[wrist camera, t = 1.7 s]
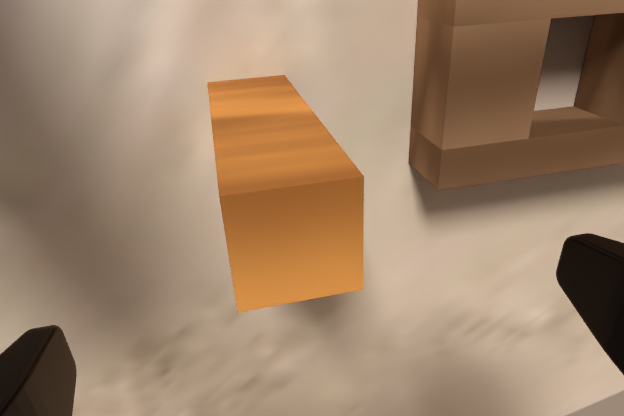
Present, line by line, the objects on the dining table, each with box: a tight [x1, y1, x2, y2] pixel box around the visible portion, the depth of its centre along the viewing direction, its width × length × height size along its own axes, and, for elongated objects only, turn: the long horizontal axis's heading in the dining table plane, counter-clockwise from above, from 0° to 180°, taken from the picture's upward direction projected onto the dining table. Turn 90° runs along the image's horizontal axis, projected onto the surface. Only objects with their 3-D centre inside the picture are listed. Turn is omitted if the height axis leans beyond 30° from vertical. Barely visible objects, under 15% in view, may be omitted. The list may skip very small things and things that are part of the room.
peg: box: [208, 75, 364, 312], centre depth 14 cm, size 3×3×10 cm
